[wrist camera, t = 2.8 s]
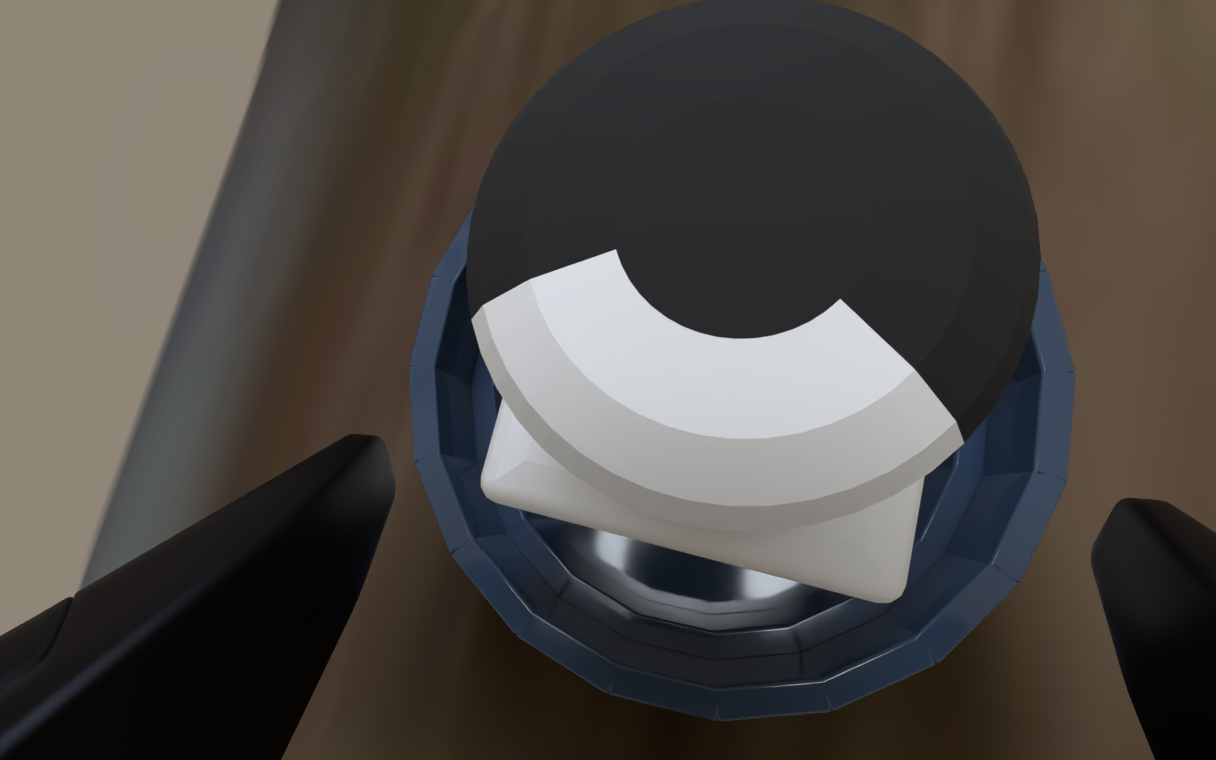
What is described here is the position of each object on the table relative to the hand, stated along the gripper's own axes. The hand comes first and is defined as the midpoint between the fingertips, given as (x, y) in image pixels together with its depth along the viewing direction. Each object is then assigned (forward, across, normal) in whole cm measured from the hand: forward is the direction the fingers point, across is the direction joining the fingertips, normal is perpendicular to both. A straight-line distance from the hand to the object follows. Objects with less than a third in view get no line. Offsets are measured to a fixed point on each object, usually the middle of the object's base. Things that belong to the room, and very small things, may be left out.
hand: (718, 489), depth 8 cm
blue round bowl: (+9, 0, +5) cm, 10 cm away
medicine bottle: (+9, 0, +5) cm, 10 cm away
